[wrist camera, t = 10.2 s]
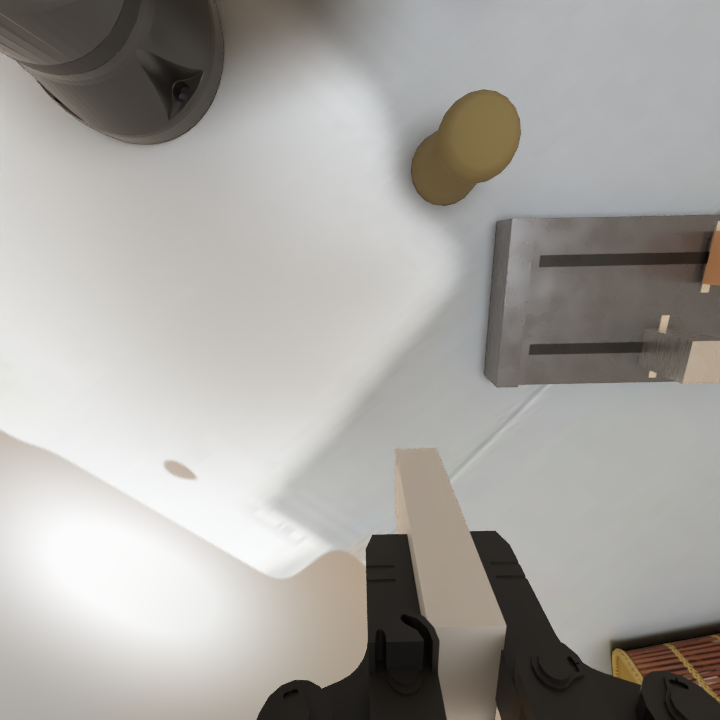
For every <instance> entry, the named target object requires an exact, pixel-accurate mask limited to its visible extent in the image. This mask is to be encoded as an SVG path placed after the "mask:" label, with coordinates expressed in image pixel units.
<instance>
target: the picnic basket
mask: <svg viewBox="0 0 720 720" xmlns="http://www.w3.org/2000/svg"><path fill="white" fill-rule="evenodd" d="M612 667H613V676H614V677H617V678H621V679H624V680H627V681H630V682H634V683H637V684H640V685H641V684H642V680H643V678H644V677H645V676H646V675H648V674H649V673H650V672H651V671H668V672H671V673H674V674H678V675H681V676H683V677H685V678H687V679H688V680H690V681H692V682H694V683H695V684H697V685H699V686H700V687H702V688H703V689H704V690H705V691H706V692H708V693H709V694H710V695H711V696H712V697H714V698H715V699H716V700H717V701H718V702H719V703H720V634H715V635H710V636H704V637H699V638H693V639H688V640H682V641H677V642H672V643H666V644H661V645H655V646H650V647H644V648H639V649H634V650H628V651H623V650H621V649H618V648H616V649H615V650H614V651H612Z"/></svg>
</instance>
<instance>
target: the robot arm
mask: <svg viewBox="0 0 720 720" xmlns="http://www.w3.org/2000/svg"><path fill="white" fill-rule="evenodd" d="M0 52H1V53H3V54H5V55H7V56H9V57H10V58H12V59H14V60H16V61H17V62H18V63H19V64H20V65H21V66H22V67H23V68H24V69H25V70H27V71H28V72H29V73H31V74H32V75H33V76H34V77H35V79H36V80H37V81H38V83H39V84H40V85H41V86H42V88H43V89H44V90H45V91H46V92H47V93H48V94H49V96H50V97H51V98H52V99H53V100H54V101H55V102H56V103H57V104H58V105H60V106H61V107H62V108H63V109H64V110H65V111H67V112H68V113H69V114H71V115H72V116H73V117H75V118H76V119H78V120H79V121H81V122H82V123H84V124H86V125H87V126H89V127H91V128H93V129H95V130H98V131H100V132H102V133H104V134H106V135H108V136H111V137H113V138H116V139H119V140H122V141H125V142H130V143H137V144H154V143H160V142H165V141H168V140H171V139H173V138H176V137H178V136H180V135H181V134H183V133H185V132H186V131H188V130H189V129H190V128H191V127H193V126H194V125H195V124H196V123H197V122H198V121H199V120H200V119H201V118H202V116H203V115H204V114H205V112H206V111H207V109H208V108H209V106H210V104H211V103H212V101H213V99H214V96H215V94H216V91H217V88H218V85H219V82H220V78H221V73H222V66H223V35H222V28H221V23H220V18H219V14H218V10H217V7H216V4H215V1H214V0H0ZM395 515H396V522H397V529H398V534H386V535H372V537H371V539H370V541H369V543H368V546H367V548H366V574H367V575H366V580H367V621H368V644H367V650H366V653H365V656H364V659H363V660H362V662H361V663H360V665H359V667H358V668H357V669H356V670H355V671H354V672H353V673H352V674H351V675H349V676H348V677H346V678H344V679H343V680H341V681H339V682H337V683H334V684H332V685H329V686H327V687H325V688H322V689H321V688H320V686H318V685H316V684H314V683H312V682H310V681H308V680H294V681H291V682H289V683H286V684H284V685H282V686H280V687H279V688H278V689H277V690H276V691H275V692H274V693H273V694H271V695H270V696H269V697H268V699H267V701H266V702H265V704H264V706H263V708H262V709H261V711H260V713H259V715H258V718H257V720H495V714H496V707H498V710H499V713H500V716H501V720H720V703H719V702H718V701H717V700H716V699H715V698H714V697H712V696H711V695H710V694H709V693H708V692H706V691H705V690H704V689H703V688H702V687H700V686H699V685H697V684H695V683H694V682H692V681H690V680H688V679H687V678H685V677H683V676H681V675H678V674H674V673H671V672H668V671H651V672H650V673H649V674H648V675H646V676H645V677H644V678H643V680H642V684H641V685H640V684H637V683H634V682H630V681H627V680H624V679H621V678H617V677H614V676H611V675H608V674H605V673H602V672H600V671H597V670H595V669H592V668H591V667H589V666H587V665H586V664H584V663H583V662H582V661H581V659H580V658H579V657H578V655H577V654H575V653H574V652H573V651H572V650H571V649H570V648H568V647H567V646H566V645H565V644H563V643H561V642H560V640H559V639H558V637H557V636H556V634H555V632H554V630H553V628H552V627H551V625H550V623H549V621H548V619H547V617H546V615H545V613H544V611H543V609H542V607H541V605H540V603H539V601H538V599H537V597H536V595H535V593H534V591H533V589H532V588H531V586H530V584H529V582H528V580H527V579H526V578H525V574H524V572H523V570H522V568H521V566H520V564H518V560H517V558H516V556H515V554H514V552H513V550H512V548H511V547H510V545H509V544H508V543H507V542H506V541H505V540H504V539H503V538H502V537H501V536H500V535H499V534H498V533H497V532H496V531H469V529H468V527H467V524H466V522H465V519H464V517H463V514H462V512H461V509H460V506H459V504H458V501H457V499H456V496H455V494H454V491H453V489H452V486H451V484H450V481H449V479H448V476H447V473H446V471H445V468H444V466H443V463H442V461H441V458H440V456H439V453H438V451H437V448H420V449H395Z"/></svg>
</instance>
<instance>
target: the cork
mask: <svg viewBox="0 0 720 720" xmlns="http://www.w3.org/2000/svg"><path fill="white" fill-rule="evenodd" d="M520 135H521V129H520V119H519V116H518V114H517V111H516V108H515V107H514V105H513V104H512V103H511V102H510V101H509V99H508V98H507V97H505V96H504V95H502V94H500V93H498V92H496V91H491V90H479V91H475V92H471V93H468V94H466V95H465V96H463V97H462V98H460V99H459V100H457V101H456V102H455V103H454V104H453V105H452V106H451V107H450V109H449V110H448V111H447V112H446V114H445V115H444V118H443V120H442V122H441V124H440V126H439V129H438V131H436V132H435V133H433V134H432V135H431V136H429V137H428V138H426V139H425V140H424V141H423V142H422V144H421V145H420V146H419V147H418V148H417V150H416V153H415V155H414V157H413V160H412V167H411V174H412V181H413V184H414V186H415V188H416V190H417V192H418V193H419V194H420V195H421V197H422V198H423V199H424V200H426V201H428V202H430V203H432V204H434V205H441V206H446V205H450V204H455V203H456V202H458V201H460V200H461V199H463V198H464V197H465V196H466V195H467V194H468V193H469V192H470V191H471V190H472V188H473V187H474V186H475V185H476V184H477V183H480V182H485V181H488V180H490V179H491V178H493V177H495V176H496V175H498V174H500V173H501V172H502V171H503V170H504V169H505V168H506V166H507V165H508V164H509V163H510V162H511V160H512V158H513V156H514V154H515V152H516V150H517V148H518V145H519V140H520Z"/></svg>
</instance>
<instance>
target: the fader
mask: <svg viewBox="0 0 720 720" xmlns="http://www.w3.org/2000/svg"><path fill="white" fill-rule="evenodd" d="M702 284H708V285H718V286H720V231H715V234H714V238H713V242H712V246H711V250H710V254H709V258H708V262H707V266H706V270H705V274H704V278H703V282H702Z"/></svg>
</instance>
